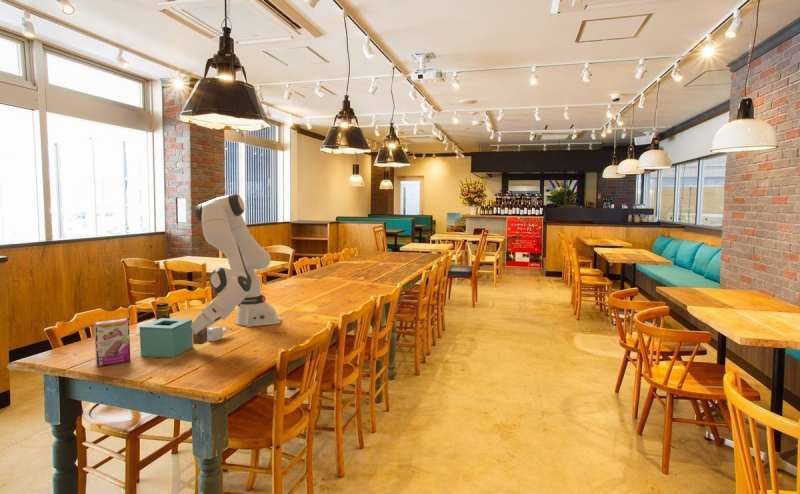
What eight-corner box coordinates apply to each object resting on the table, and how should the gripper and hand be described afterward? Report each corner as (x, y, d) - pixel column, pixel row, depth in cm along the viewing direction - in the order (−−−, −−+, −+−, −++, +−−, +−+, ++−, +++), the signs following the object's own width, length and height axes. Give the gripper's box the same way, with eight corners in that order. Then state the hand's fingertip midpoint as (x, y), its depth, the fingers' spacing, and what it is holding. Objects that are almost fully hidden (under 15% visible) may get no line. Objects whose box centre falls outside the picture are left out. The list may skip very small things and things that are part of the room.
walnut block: (207, 341, 193) (206, 320, 192) (202, 344, 189) (201, 322, 188) (198, 340, 193) (197, 319, 192) (193, 343, 189) (192, 322, 188)
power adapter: (226, 334, 217) (226, 322, 216) (233, 336, 214) (233, 323, 214) (206, 340, 207) (205, 328, 207) (213, 342, 205) (213, 329, 204)
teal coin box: (192, 346, 198) (191, 319, 197) (173, 357, 185) (171, 328, 183) (162, 345, 200) (161, 318, 199) (140, 355, 186) (139, 326, 185)
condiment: (171, 327, 227) (170, 304, 226) (152, 330, 223) (151, 306, 221) (169, 324, 233) (168, 301, 232) (151, 326, 229) (149, 303, 227)
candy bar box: (97, 367, 173) (94, 325, 171) (95, 363, 177) (93, 322, 175) (131, 361, 180) (129, 320, 178) (129, 358, 184) (127, 317, 182)
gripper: (226, 297, 198) (206, 319, 201) (201, 309, 178) (178, 333, 181) (237, 308, 198) (216, 329, 201) (212, 320, 178) (190, 344, 181)
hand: (198, 331), depth 190 cm, fingers closed on walnut block, 4 cm apart
